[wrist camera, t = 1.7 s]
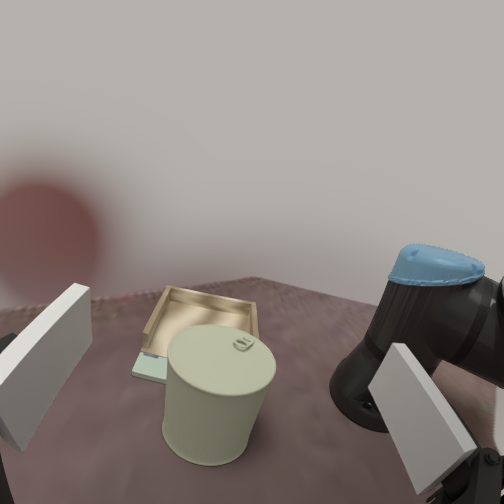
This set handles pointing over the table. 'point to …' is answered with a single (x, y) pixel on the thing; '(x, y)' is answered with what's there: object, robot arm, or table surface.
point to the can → (214, 392)
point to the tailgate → (151, 367)
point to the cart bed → (194, 316)
